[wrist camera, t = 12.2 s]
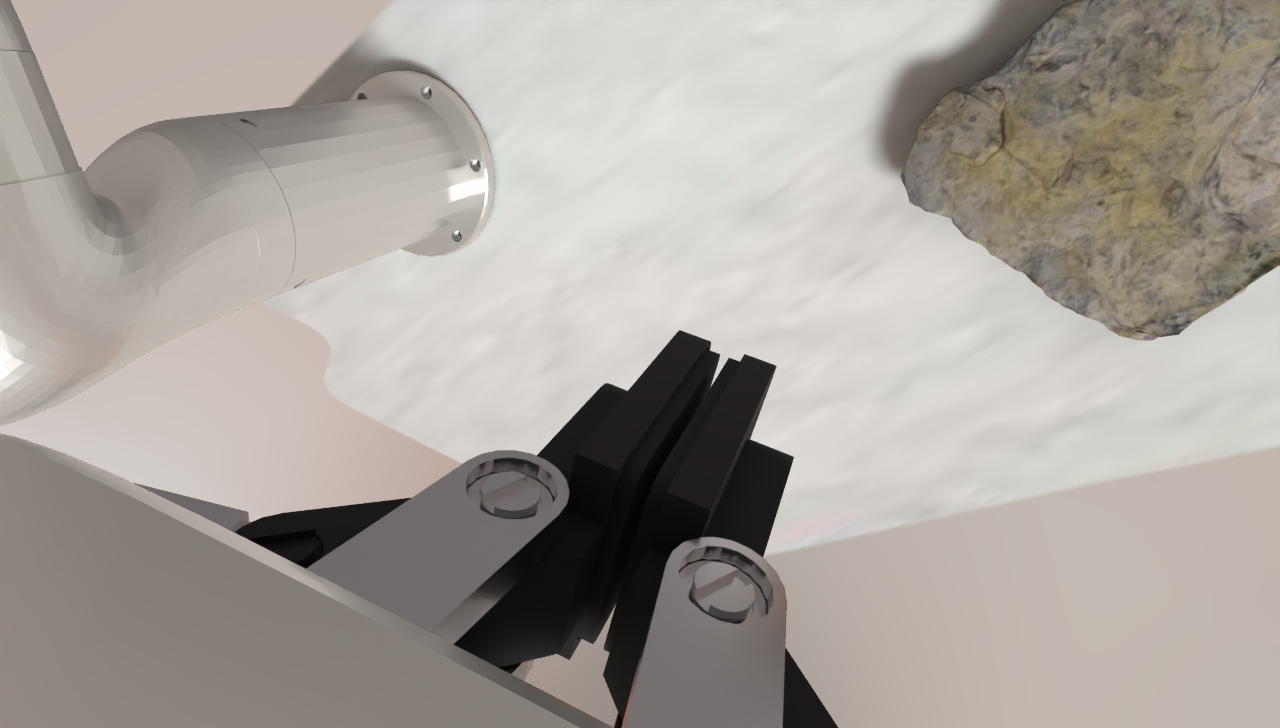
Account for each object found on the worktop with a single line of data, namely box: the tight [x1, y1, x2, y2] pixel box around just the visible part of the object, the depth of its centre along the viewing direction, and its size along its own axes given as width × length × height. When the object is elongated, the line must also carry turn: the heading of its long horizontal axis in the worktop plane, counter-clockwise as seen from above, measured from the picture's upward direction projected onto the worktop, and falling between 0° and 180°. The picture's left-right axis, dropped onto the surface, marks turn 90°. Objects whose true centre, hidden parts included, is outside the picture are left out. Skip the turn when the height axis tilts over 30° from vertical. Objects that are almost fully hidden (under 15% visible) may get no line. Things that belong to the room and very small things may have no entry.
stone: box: [901, 0, 1280, 340], centre depth 31 cm, size 18×15×4 cm
